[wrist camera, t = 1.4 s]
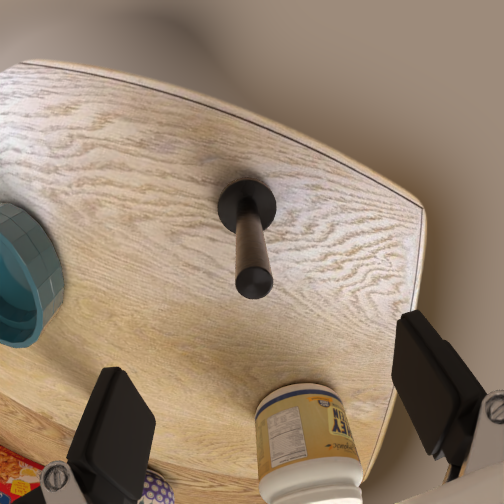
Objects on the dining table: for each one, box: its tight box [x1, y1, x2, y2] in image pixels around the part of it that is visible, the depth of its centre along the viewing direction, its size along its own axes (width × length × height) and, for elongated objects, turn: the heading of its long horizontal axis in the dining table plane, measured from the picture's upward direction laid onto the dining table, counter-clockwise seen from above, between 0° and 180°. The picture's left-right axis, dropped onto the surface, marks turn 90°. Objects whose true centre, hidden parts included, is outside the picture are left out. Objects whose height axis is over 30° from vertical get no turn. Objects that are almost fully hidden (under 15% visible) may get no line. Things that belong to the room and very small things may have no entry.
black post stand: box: [218, 177, 276, 299], centre depth 21 cm, size 5×5×14 cm
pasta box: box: [0, 445, 45, 504], centre depth 39 cm, size 28×8×28 cm, turn 78°
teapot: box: [137, 469, 174, 504], centre depth 42 cm, size 25×15×15 cm, turn 167°
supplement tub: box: [255, 383, 363, 504], centre depth 31 cm, size 12×12×17 cm
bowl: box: [0, 203, 64, 348], centre depth 26 cm, size 16×16×6 cm
